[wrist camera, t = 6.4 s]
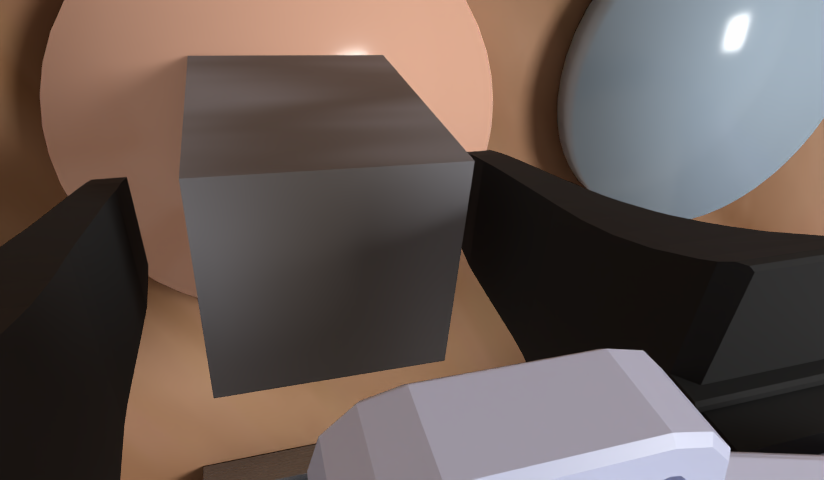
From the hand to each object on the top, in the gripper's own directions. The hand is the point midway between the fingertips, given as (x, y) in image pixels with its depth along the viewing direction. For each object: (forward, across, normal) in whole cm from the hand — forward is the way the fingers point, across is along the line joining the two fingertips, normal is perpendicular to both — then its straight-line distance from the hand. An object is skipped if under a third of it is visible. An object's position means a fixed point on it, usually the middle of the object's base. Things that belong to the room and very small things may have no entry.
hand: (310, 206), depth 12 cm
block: (+3, 0, 0) cm, 3 cm away
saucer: (+4, -13, -1) cm, 14 cm away
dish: (+4, 0, 0) cm, 4 cm away
